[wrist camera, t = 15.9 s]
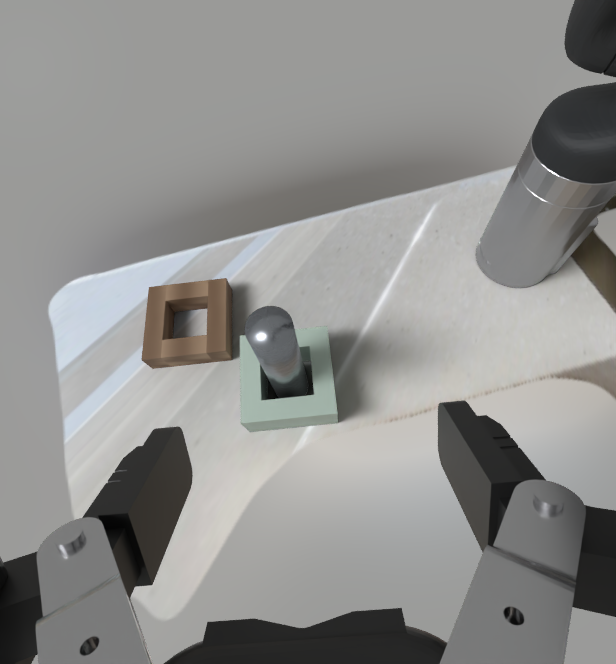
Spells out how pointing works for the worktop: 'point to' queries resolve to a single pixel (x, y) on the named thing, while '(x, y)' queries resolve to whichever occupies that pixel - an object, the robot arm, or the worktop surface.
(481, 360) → the worktop surface
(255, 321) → the ball
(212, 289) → the walnut socket
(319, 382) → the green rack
